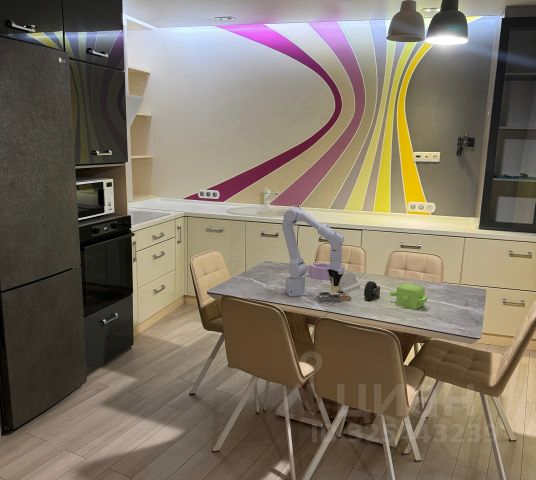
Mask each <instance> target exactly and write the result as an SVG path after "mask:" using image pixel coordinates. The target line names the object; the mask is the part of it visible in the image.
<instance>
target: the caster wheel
mask: <svg viewBox="0 0 536 480" xmlns="http://www.w3.org/2000/svg"><path fill="white" fill-rule="evenodd" d="M363 295H364V298H365V299H366V300H368V301H369V300H370V301H373V300H374V299H375V298H379V297H380V295H381V286H380V285H377V283H376V282H375V281H372V280H370V281H367V282H366V284H365V285H364V290H363Z"/></svg>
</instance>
